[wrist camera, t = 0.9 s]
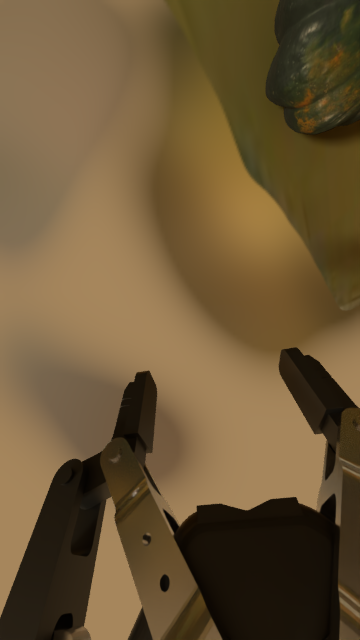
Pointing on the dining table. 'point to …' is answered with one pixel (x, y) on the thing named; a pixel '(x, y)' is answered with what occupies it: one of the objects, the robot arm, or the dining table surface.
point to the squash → (316, 64)
